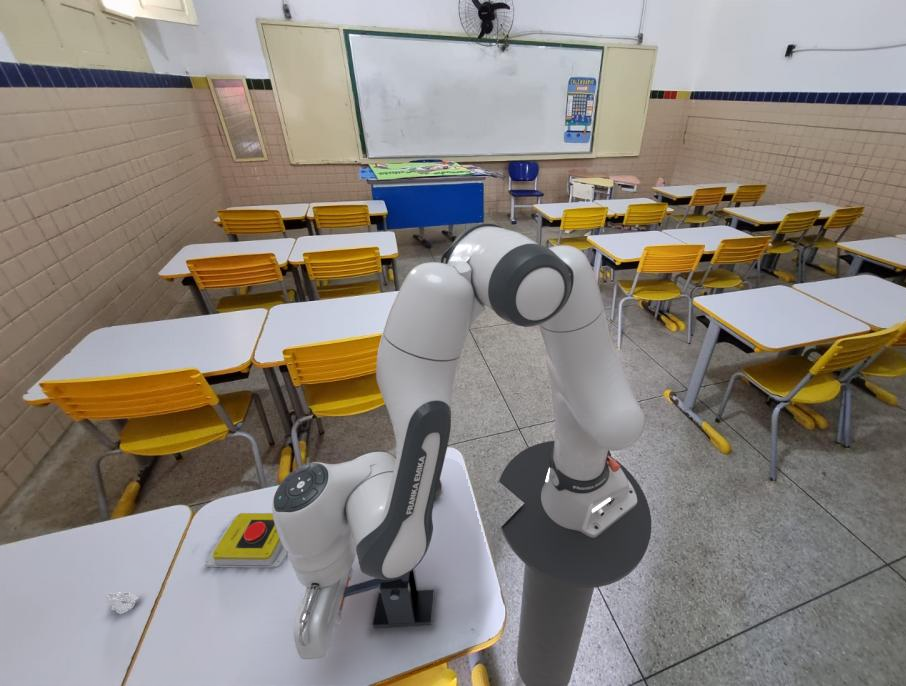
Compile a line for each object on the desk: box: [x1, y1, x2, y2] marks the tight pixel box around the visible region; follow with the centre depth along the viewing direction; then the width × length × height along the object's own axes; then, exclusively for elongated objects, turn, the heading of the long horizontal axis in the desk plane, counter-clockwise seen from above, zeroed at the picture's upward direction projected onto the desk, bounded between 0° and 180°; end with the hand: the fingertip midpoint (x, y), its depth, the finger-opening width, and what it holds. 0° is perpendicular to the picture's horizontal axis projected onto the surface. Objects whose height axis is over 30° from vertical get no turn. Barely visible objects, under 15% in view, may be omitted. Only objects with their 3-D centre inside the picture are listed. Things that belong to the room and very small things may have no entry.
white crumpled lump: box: [106, 591, 139, 615], centre depth 67 cm, size 5×2×4 cm, turn 93°
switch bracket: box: [372, 567, 435, 629], centre depth 65 cm, size 10×6×13 cm, turn 93°
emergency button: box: [204, 512, 288, 569], centre depth 77 cm, size 9×4×15 cm
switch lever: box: [340, 572, 410, 611], centre depth 63 cm, size 13×5×2 cm, turn 93°
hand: (341, 597), depth 65 cm, fingers closed on switch lever, 5 cm apart
